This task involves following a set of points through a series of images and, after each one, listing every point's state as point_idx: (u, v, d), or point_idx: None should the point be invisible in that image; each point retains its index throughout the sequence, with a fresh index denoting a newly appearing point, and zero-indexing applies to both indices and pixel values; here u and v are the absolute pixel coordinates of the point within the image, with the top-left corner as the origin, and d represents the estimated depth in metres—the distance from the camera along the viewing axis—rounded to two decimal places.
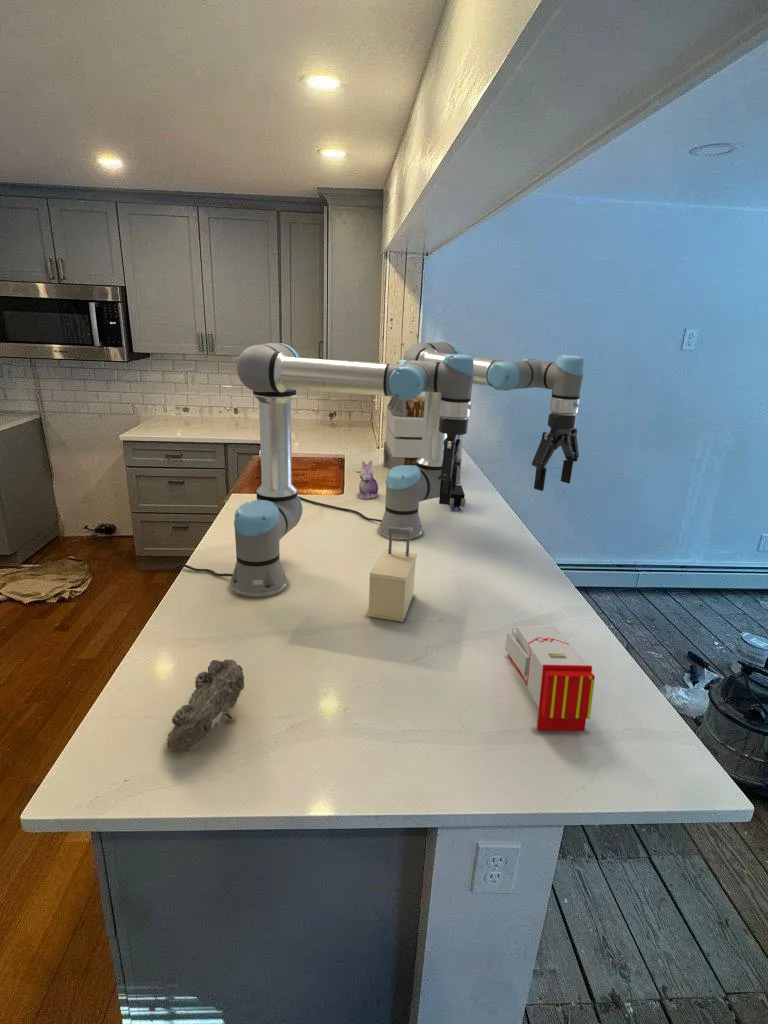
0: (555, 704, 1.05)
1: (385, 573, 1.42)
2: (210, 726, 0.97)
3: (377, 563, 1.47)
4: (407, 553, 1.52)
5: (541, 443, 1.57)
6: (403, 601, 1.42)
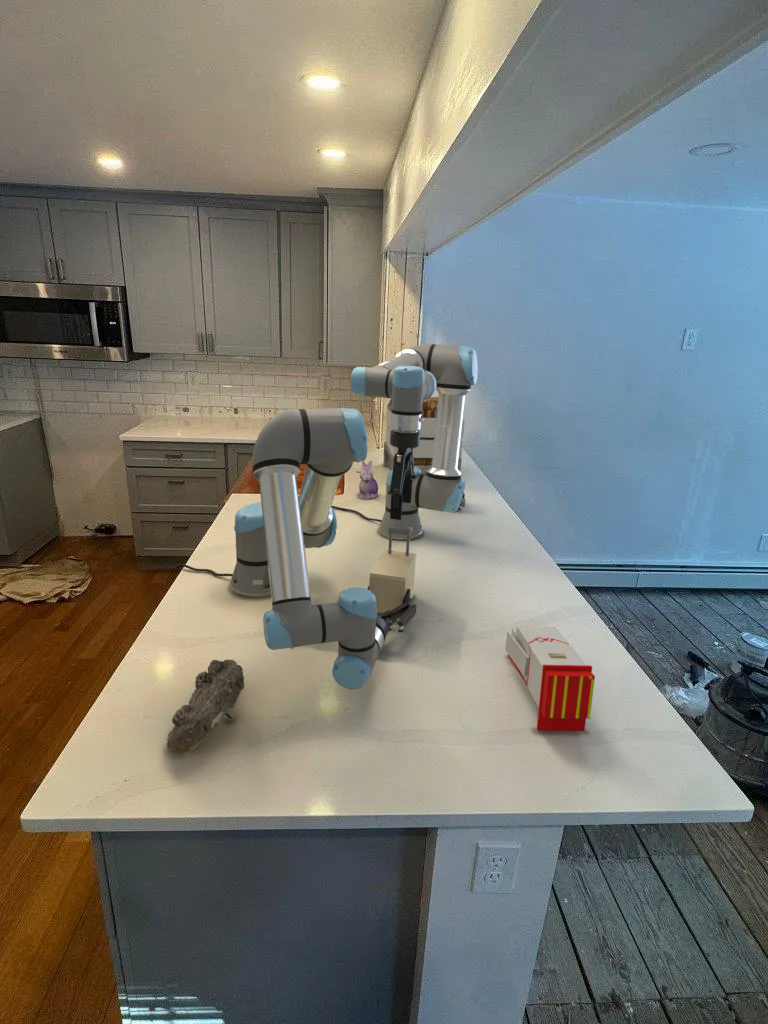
0: (555, 704, 1.05)
1: (385, 573, 1.42)
2: (210, 726, 0.97)
3: (377, 563, 1.47)
4: (407, 553, 1.52)
5: (395, 468, 1.37)
6: None
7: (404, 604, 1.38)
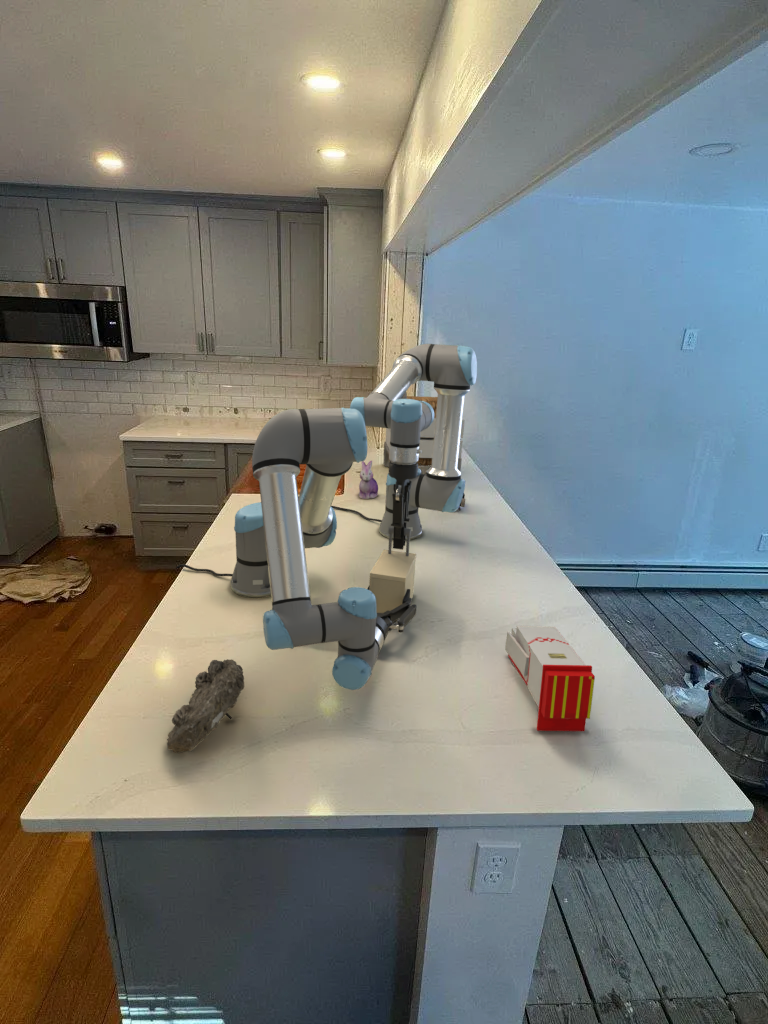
0: (555, 704, 1.05)
1: (385, 573, 1.42)
2: (210, 726, 0.97)
3: (377, 563, 1.47)
4: (407, 553, 1.52)
5: (394, 505, 1.43)
6: None
7: (404, 604, 1.38)
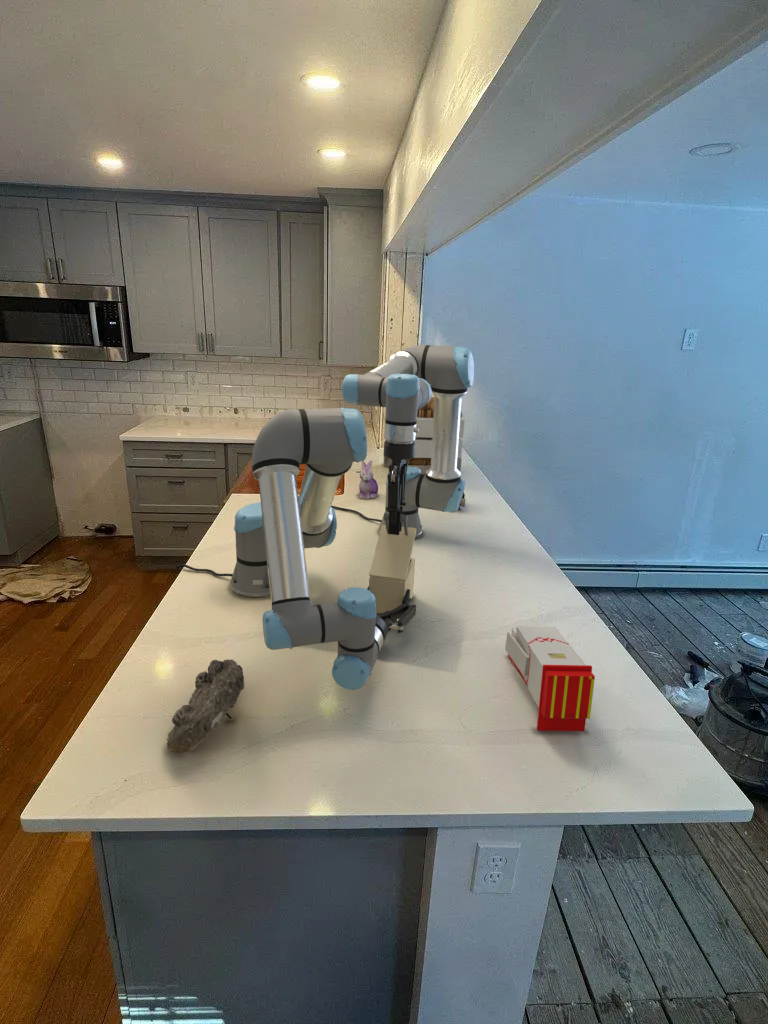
0: (555, 704, 1.05)
1: (384, 573, 1.41)
2: (210, 726, 0.97)
3: (376, 554, 1.44)
4: (406, 533, 1.46)
5: (390, 487, 1.34)
6: None
7: (404, 604, 1.37)
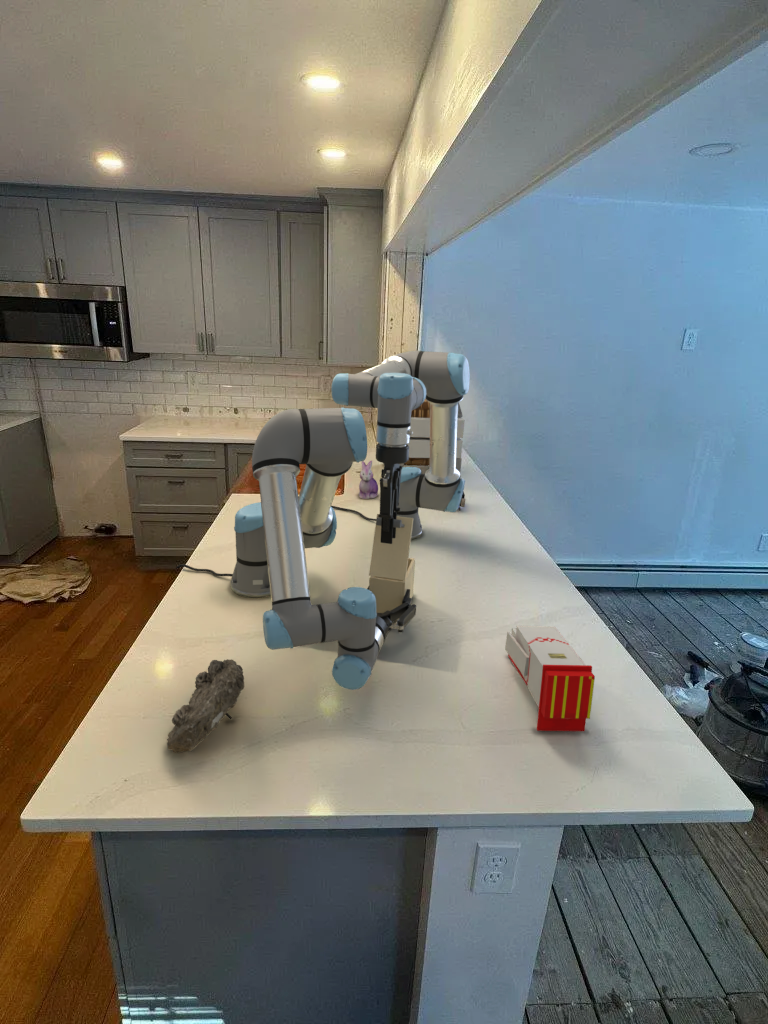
0: (555, 704, 1.05)
1: (384, 574, 1.40)
2: (210, 726, 0.97)
3: (374, 552, 1.41)
4: (402, 527, 1.40)
5: (382, 492, 1.26)
6: None
7: (404, 604, 1.37)
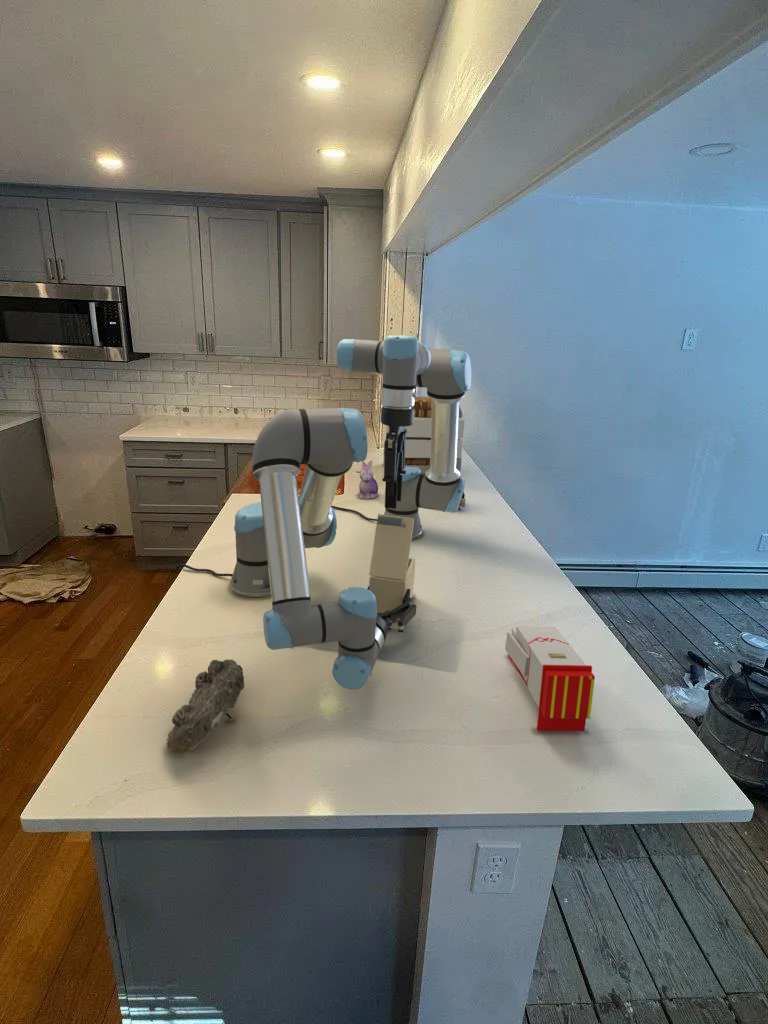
0: (555, 704, 1.05)
1: (384, 573, 1.40)
2: (210, 726, 0.97)
3: (374, 551, 1.42)
4: (403, 526, 1.40)
5: (387, 454, 1.26)
6: None
7: (404, 604, 1.38)
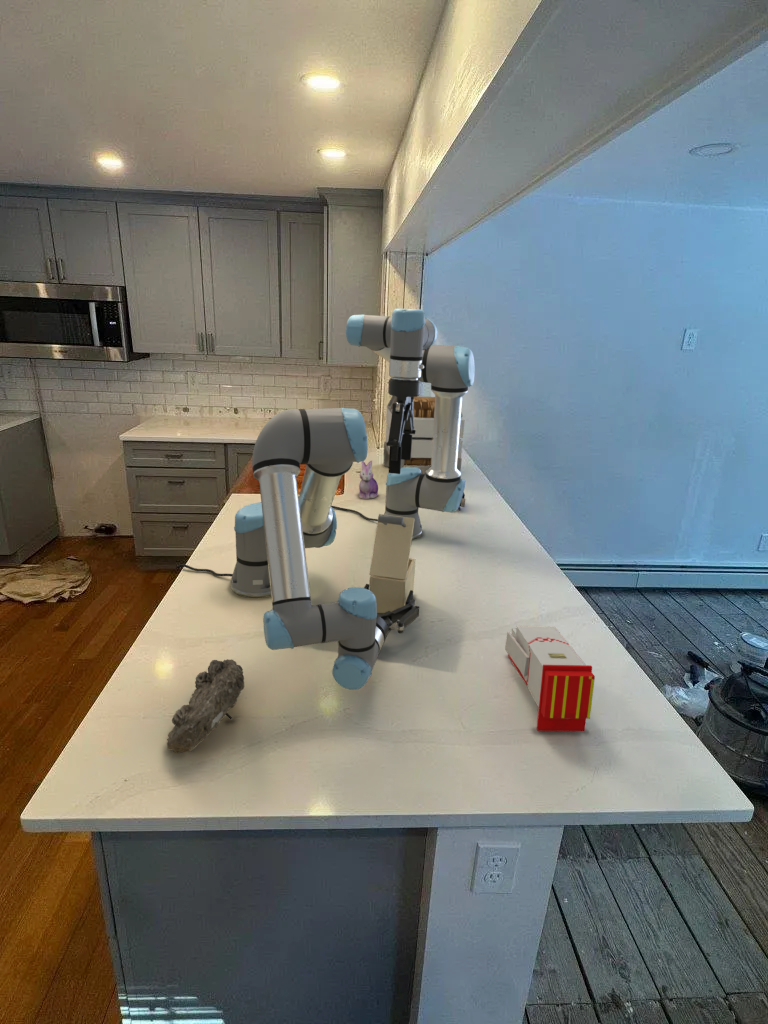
0: (555, 704, 1.05)
1: (384, 573, 1.41)
2: (210, 726, 0.97)
3: (375, 551, 1.42)
4: (404, 526, 1.41)
5: (393, 417, 1.29)
6: (403, 601, 1.42)
7: (407, 605, 1.37)
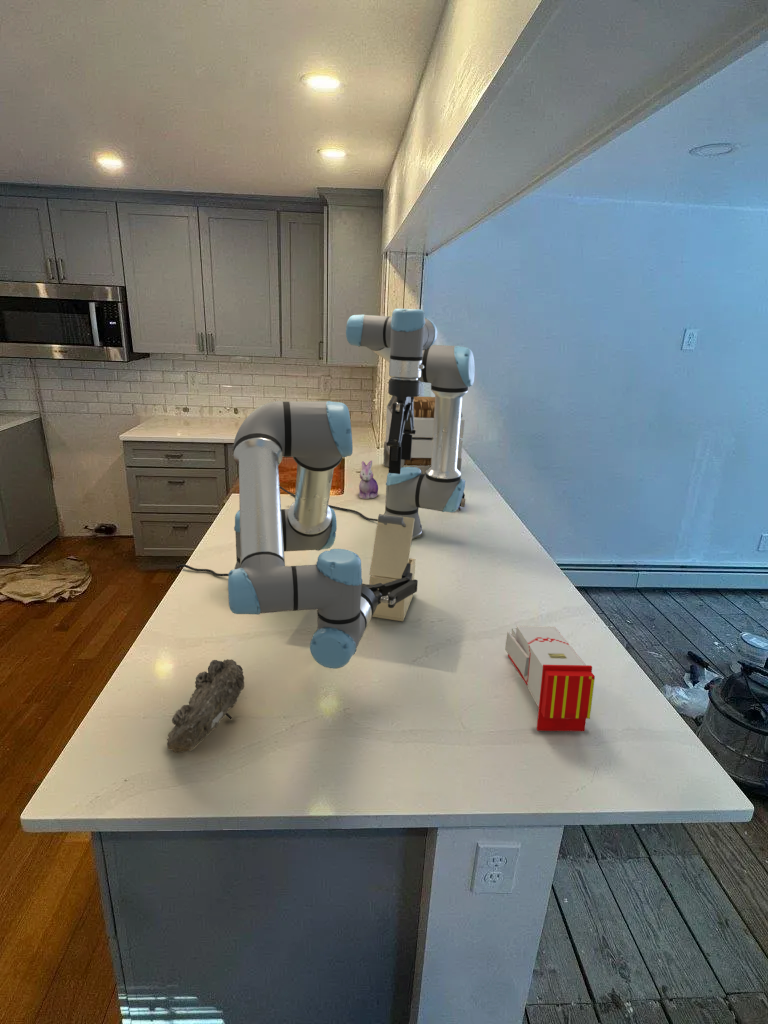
0: (555, 704, 1.05)
1: (384, 573, 1.41)
2: (210, 726, 0.97)
3: (375, 551, 1.42)
4: (404, 526, 1.41)
5: (393, 417, 1.29)
6: (403, 601, 1.42)
7: (403, 579, 1.20)
